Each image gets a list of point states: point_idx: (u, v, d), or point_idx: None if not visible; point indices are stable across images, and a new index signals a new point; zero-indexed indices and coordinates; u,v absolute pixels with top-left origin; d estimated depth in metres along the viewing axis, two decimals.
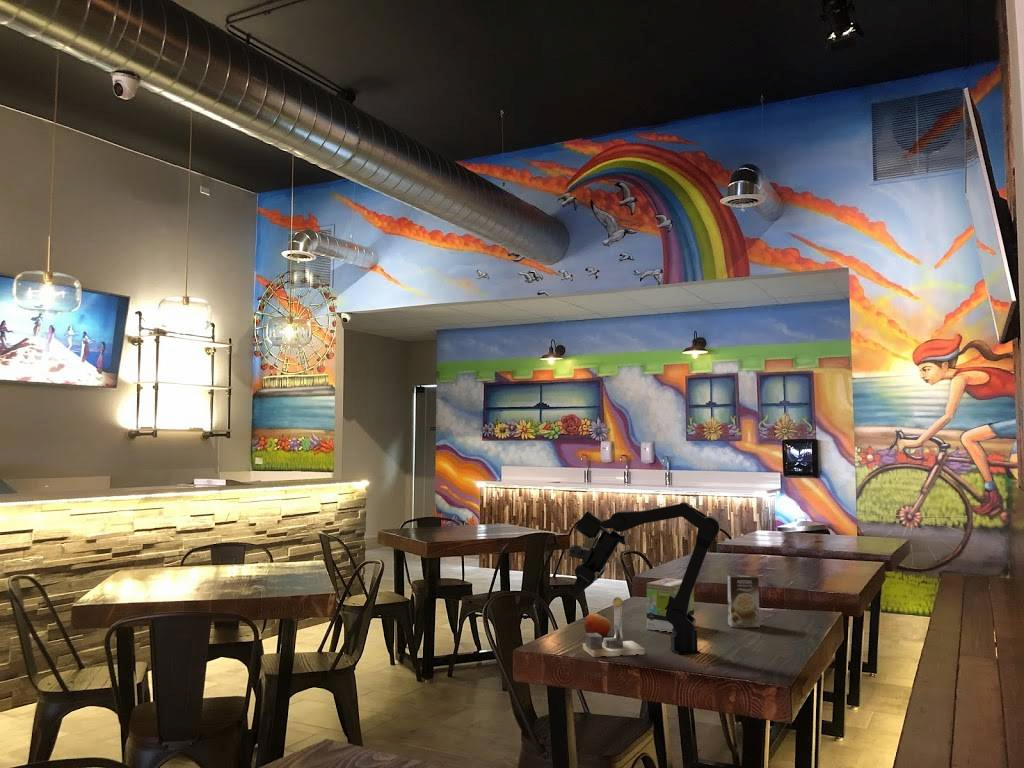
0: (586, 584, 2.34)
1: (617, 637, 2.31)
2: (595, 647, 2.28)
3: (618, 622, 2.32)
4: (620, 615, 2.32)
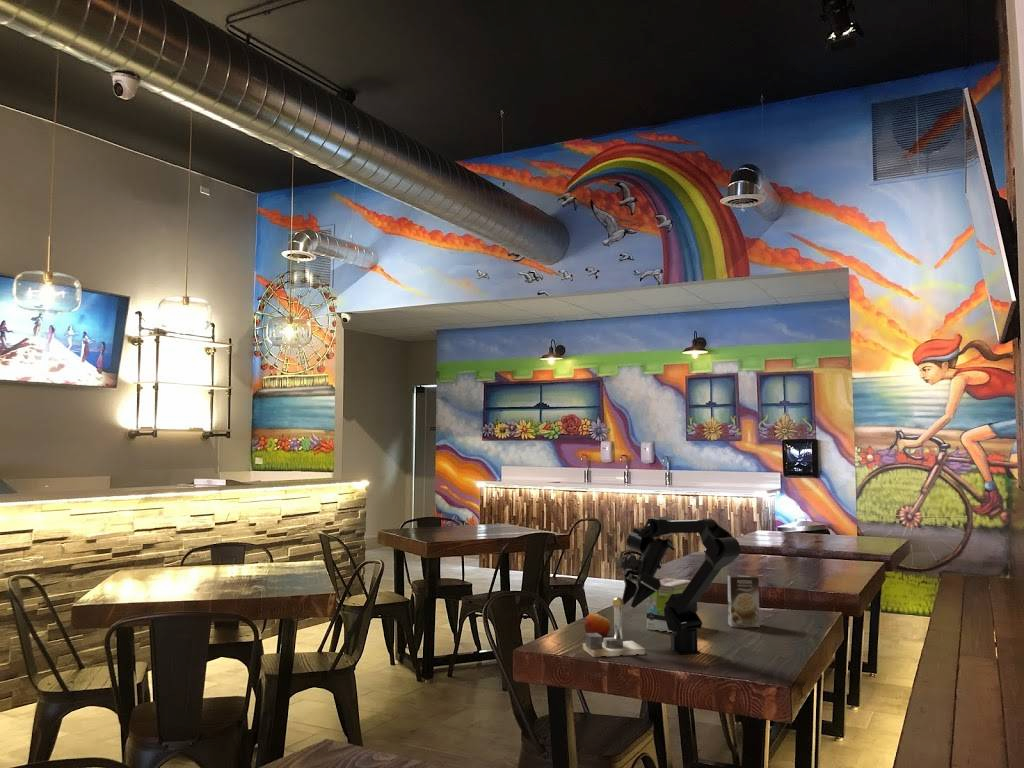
0: (648, 593, 2.33)
1: (617, 637, 2.31)
2: (595, 647, 2.28)
3: (618, 622, 2.32)
4: (620, 615, 2.32)
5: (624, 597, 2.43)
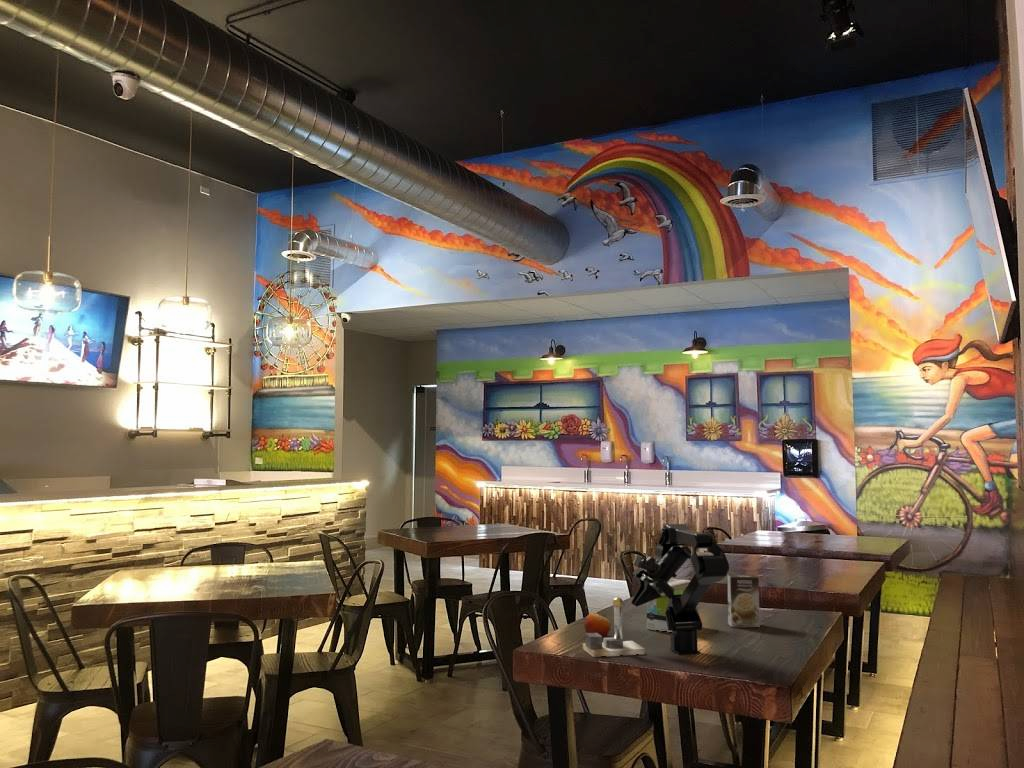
0: (654, 596, 2.33)
1: (617, 637, 2.31)
2: (595, 647, 2.28)
3: (618, 622, 2.32)
4: (620, 615, 2.32)
5: (635, 598, 2.36)
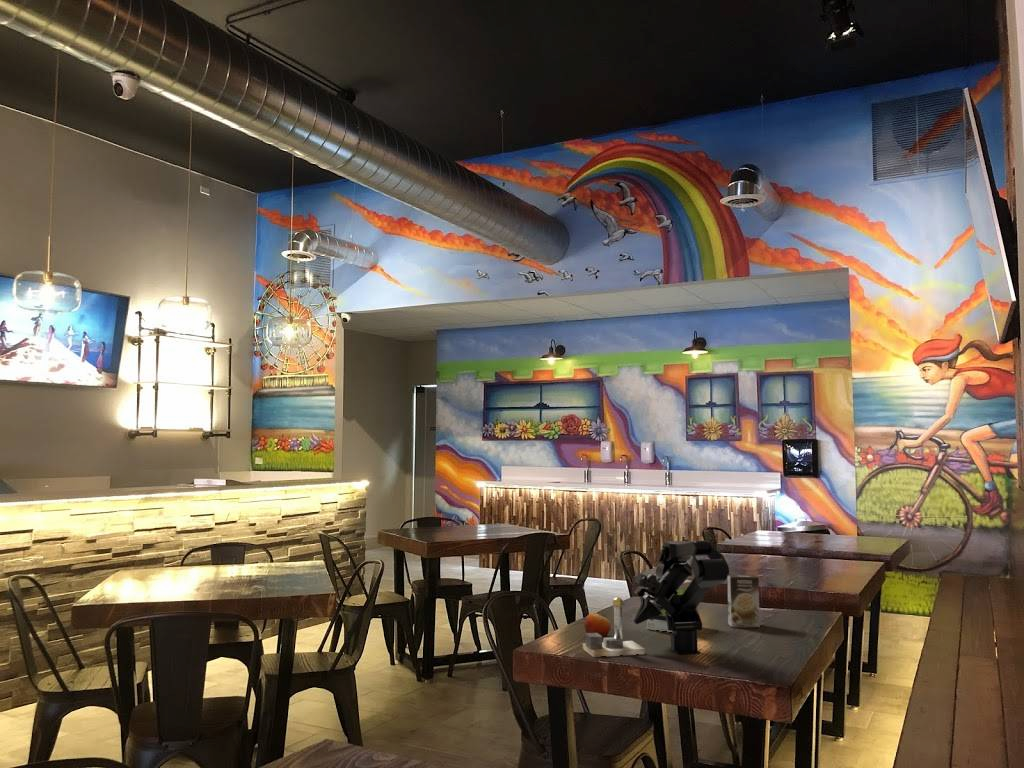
0: (654, 613, 2.33)
1: (617, 637, 2.31)
2: (595, 647, 2.28)
3: (618, 622, 2.32)
4: (620, 615, 2.32)
5: None
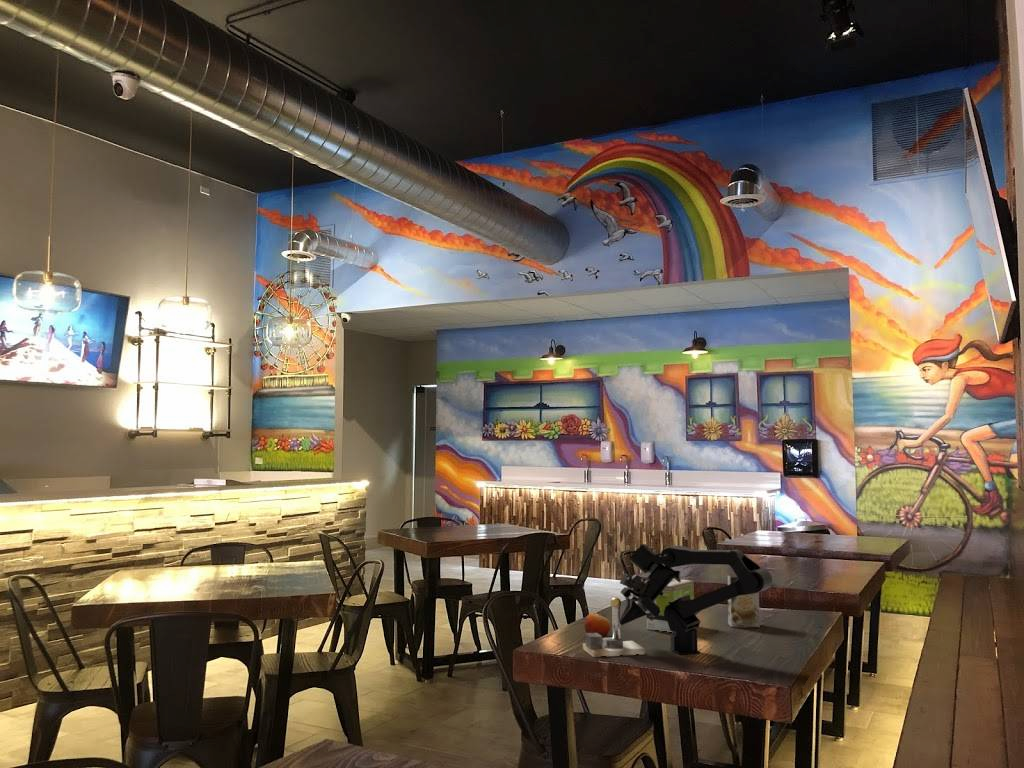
0: (639, 614, 2.32)
1: (615, 637, 2.31)
2: (595, 647, 2.28)
3: (616, 622, 2.32)
4: (618, 615, 2.32)
5: None
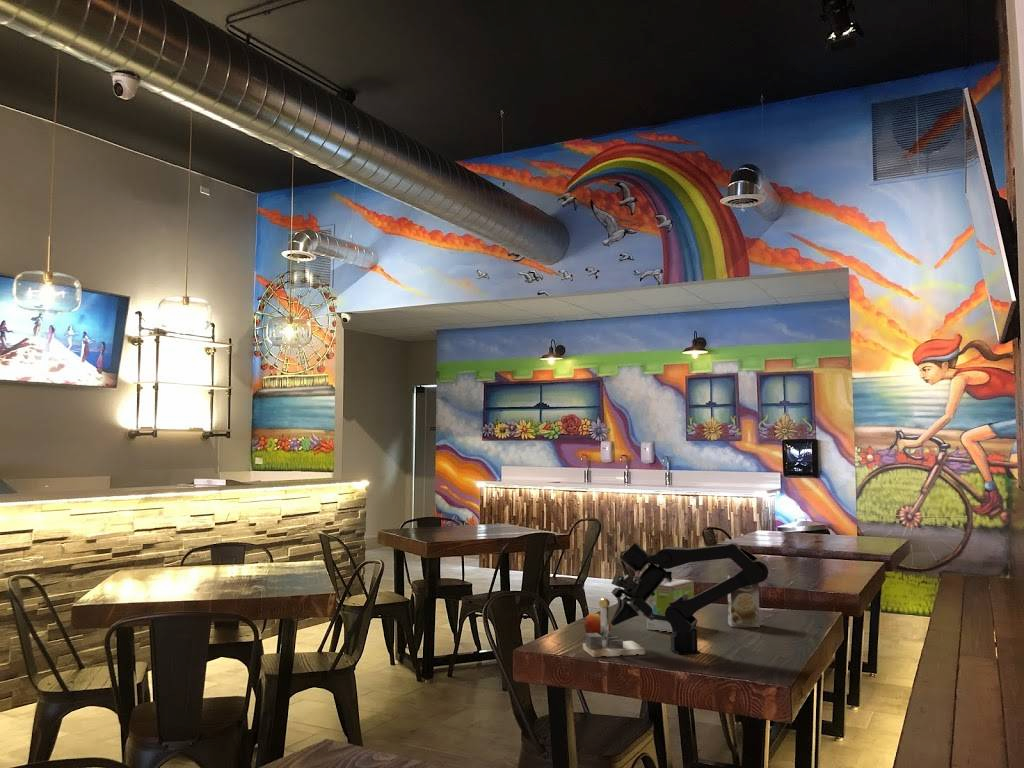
0: (631, 615, 2.32)
1: (603, 638, 2.31)
2: (595, 647, 2.28)
3: (604, 622, 2.31)
4: (606, 616, 2.31)
5: None
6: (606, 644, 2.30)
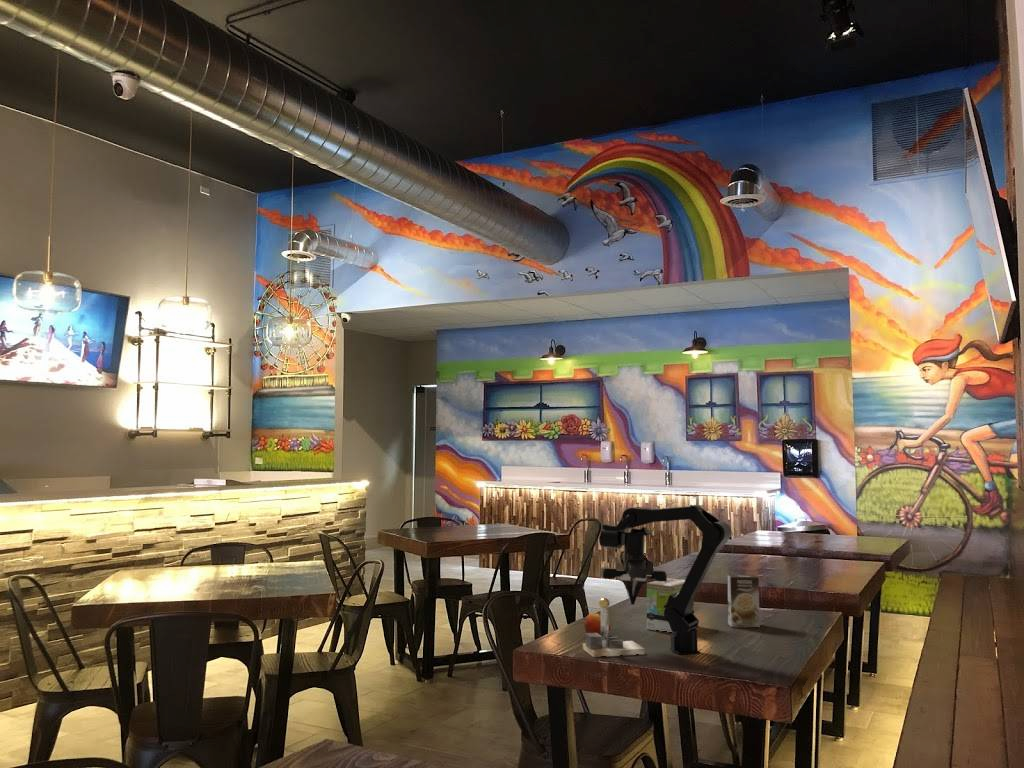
0: None
1: (603, 638, 2.31)
2: (595, 647, 2.28)
3: (604, 622, 2.31)
4: (606, 616, 2.31)
5: None
6: (606, 644, 2.30)
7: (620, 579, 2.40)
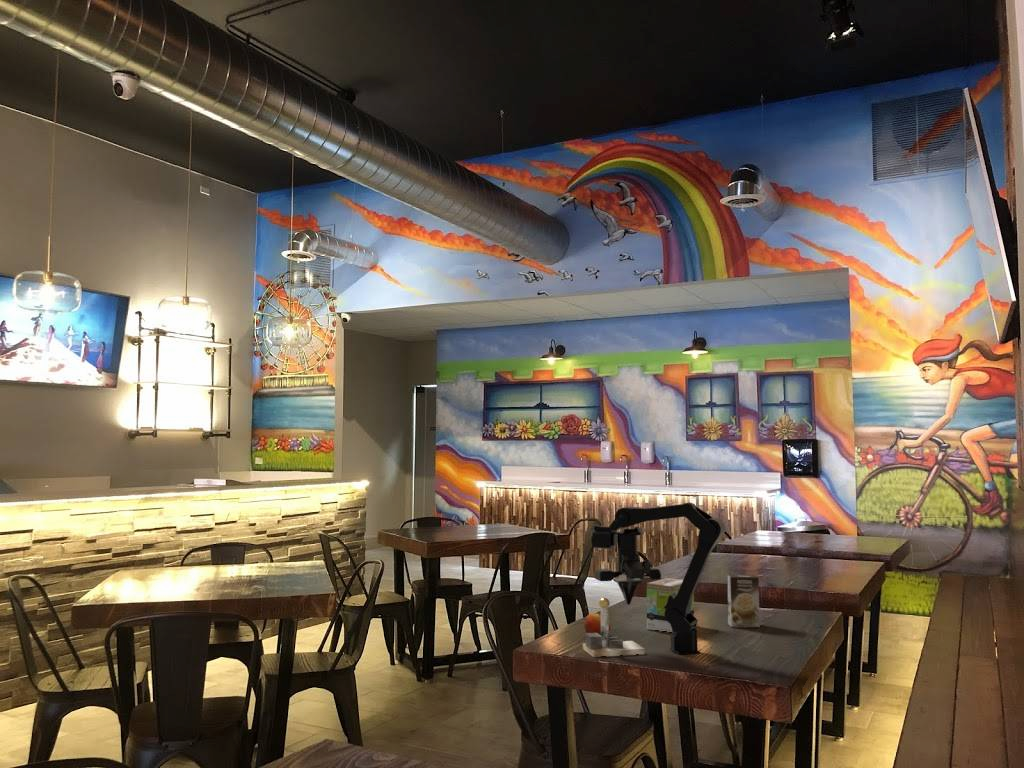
0: None
1: (603, 638, 2.31)
2: (595, 647, 2.28)
3: (604, 622, 2.31)
4: (606, 616, 2.31)
5: None
6: (606, 644, 2.30)
7: (615, 580, 2.39)
